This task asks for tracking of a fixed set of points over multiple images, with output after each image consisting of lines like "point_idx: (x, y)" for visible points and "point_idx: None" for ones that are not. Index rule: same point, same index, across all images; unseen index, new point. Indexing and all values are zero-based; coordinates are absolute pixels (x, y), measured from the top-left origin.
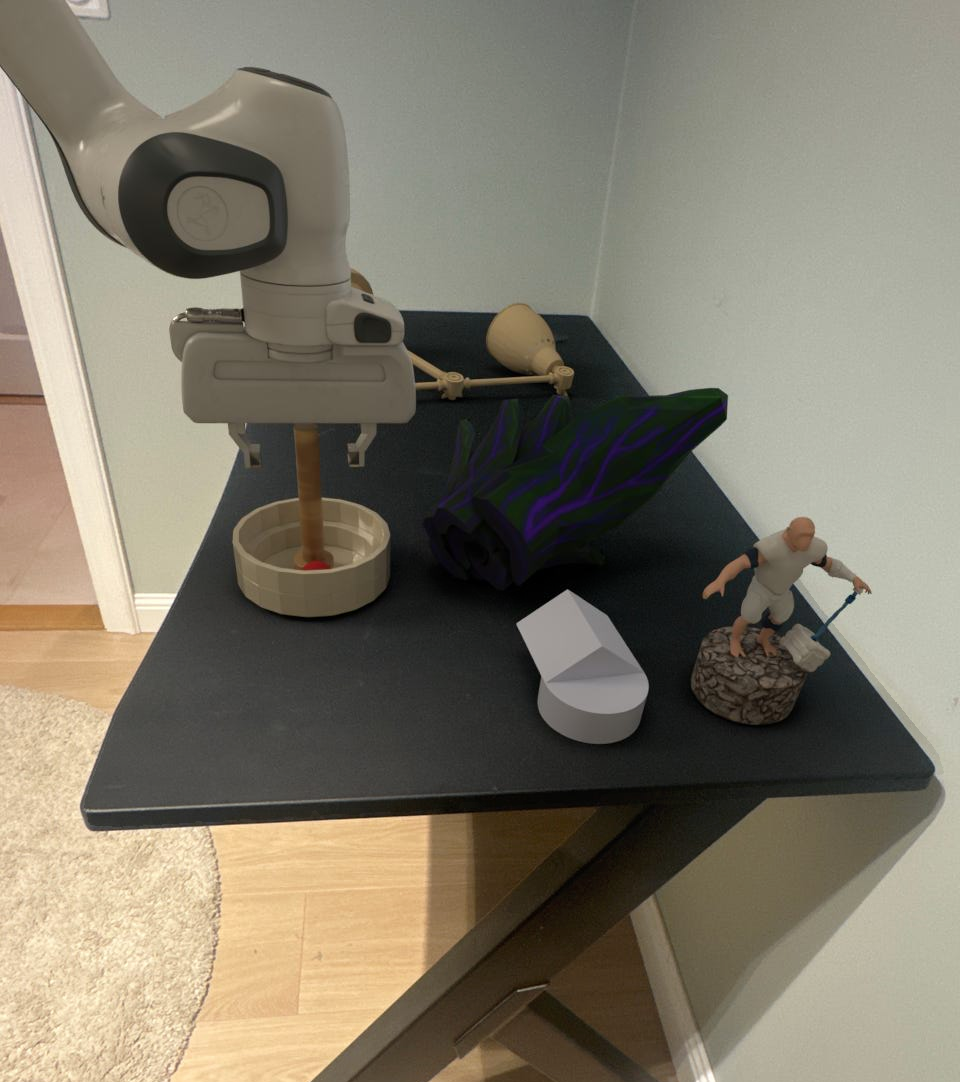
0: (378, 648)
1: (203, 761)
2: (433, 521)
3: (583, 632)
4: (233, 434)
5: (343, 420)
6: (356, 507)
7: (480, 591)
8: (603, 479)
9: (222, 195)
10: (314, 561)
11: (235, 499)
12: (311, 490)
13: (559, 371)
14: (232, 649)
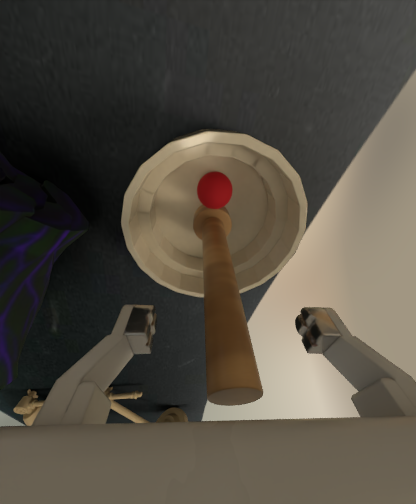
0: (151, 37)
1: None
2: (32, 211)
3: None
4: (402, 376)
5: (128, 441)
6: (163, 280)
7: (31, 162)
8: None
9: None
10: (217, 201)
11: (250, 313)
12: (220, 273)
13: (25, 410)
14: (324, 85)
